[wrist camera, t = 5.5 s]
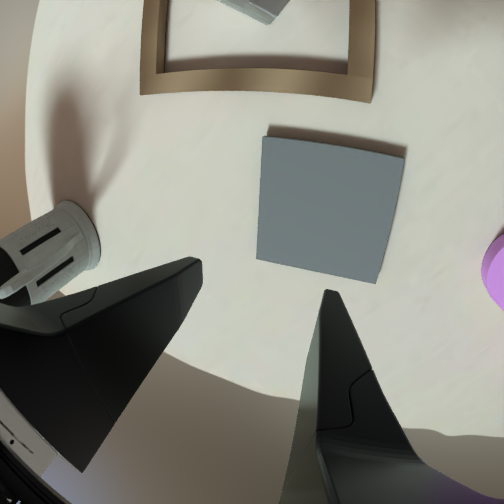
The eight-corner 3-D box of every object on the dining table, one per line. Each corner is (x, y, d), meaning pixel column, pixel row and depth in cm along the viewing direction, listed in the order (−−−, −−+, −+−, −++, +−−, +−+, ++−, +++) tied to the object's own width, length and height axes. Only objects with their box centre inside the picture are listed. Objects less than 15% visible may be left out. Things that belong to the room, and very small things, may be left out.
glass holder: (45, 212, 31) (-49, 269, 19) (107, 171, 25) (-36, 243, 12) (74, 273, 34) (-10, 341, 22) (144, 256, 28) (27, 357, 15)
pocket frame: (370, -64, 9) (370, -71, 9) (370, 103, 16) (370, 103, 15) (157, -45, 14) (150, -48, 13) (147, 94, 20) (139, 95, 19)
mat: (403, 157, 16) (404, 159, 16) (375, 279, 21) (375, 284, 20) (265, 135, 19) (262, 136, 18) (258, 255, 23) (256, 258, 23)
